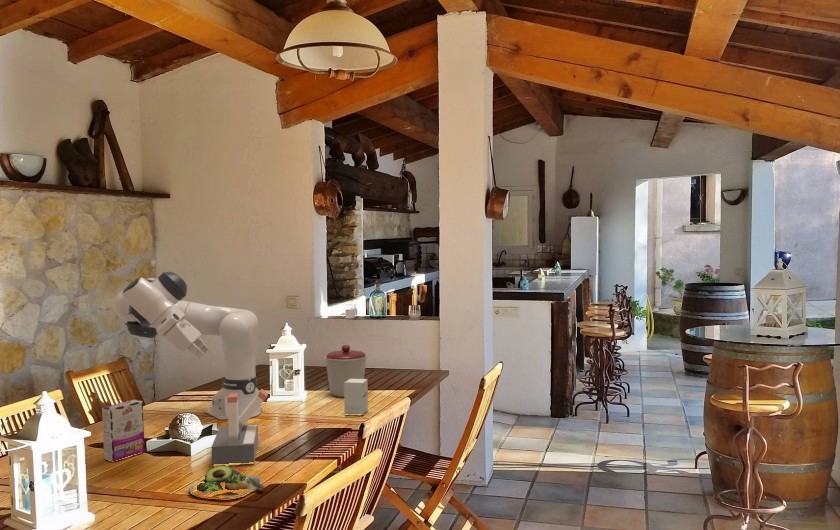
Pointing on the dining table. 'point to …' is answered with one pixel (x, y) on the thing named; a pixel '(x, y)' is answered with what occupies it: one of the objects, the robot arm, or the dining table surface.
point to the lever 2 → (252, 407)
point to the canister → (344, 368)
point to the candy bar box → (123, 429)
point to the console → (235, 445)
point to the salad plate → (227, 481)
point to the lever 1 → (233, 414)
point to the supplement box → (355, 396)
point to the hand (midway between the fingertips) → (204, 353)
